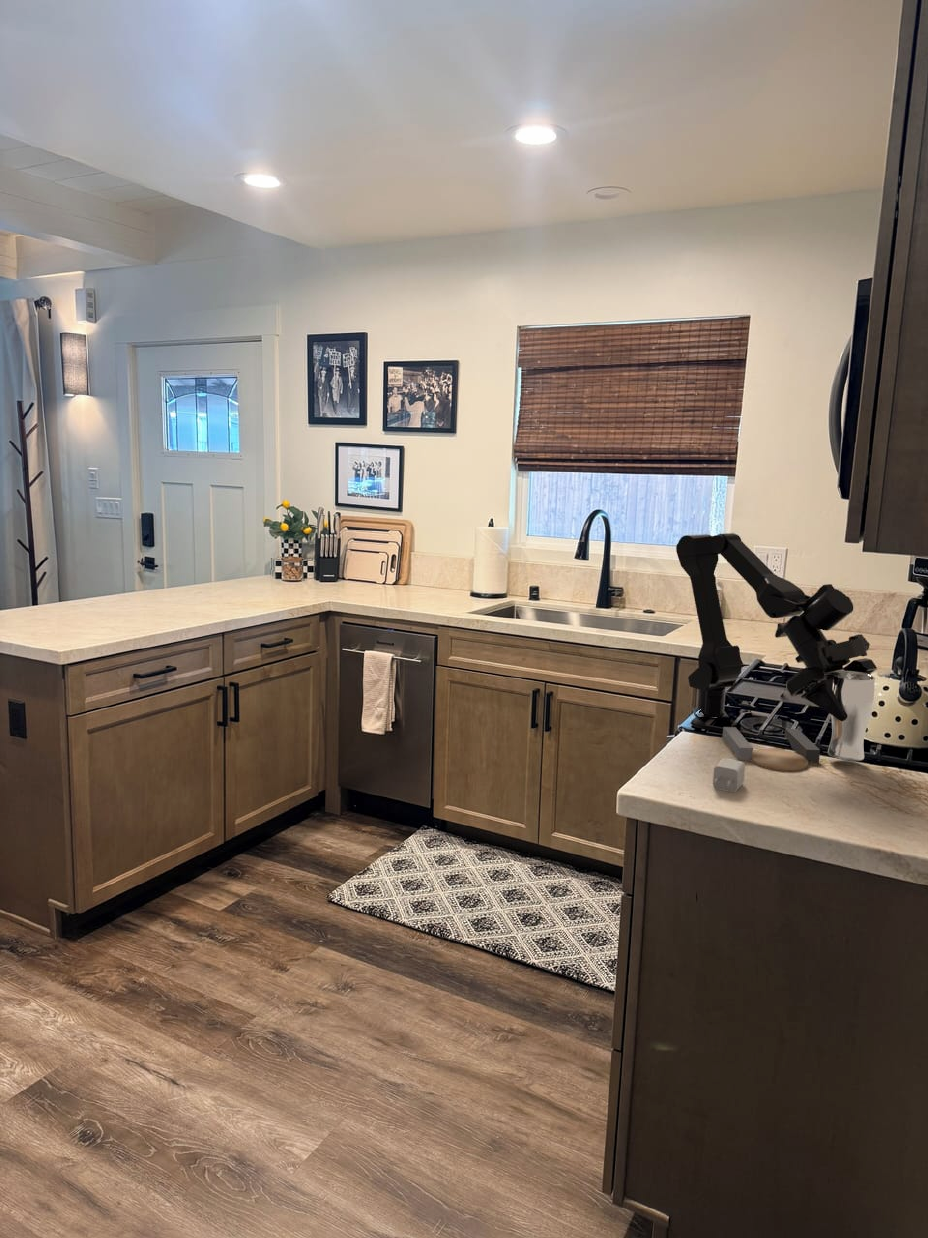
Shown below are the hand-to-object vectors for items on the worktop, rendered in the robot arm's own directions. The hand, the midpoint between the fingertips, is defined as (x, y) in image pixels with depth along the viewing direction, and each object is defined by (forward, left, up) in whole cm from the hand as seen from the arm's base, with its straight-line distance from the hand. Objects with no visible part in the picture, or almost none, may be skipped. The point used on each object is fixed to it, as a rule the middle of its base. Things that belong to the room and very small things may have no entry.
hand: (857, 717), depth 149 cm
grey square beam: (-7, -19, -9) cm, 22 cm away
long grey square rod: (-7, -7, -9) cm, 13 cm away
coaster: (-1, -13, -9) cm, 16 cm away
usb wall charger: (+13, -26, -9) cm, 30 cm away
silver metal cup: (-1, -1, -8) cm, 8 cm away
